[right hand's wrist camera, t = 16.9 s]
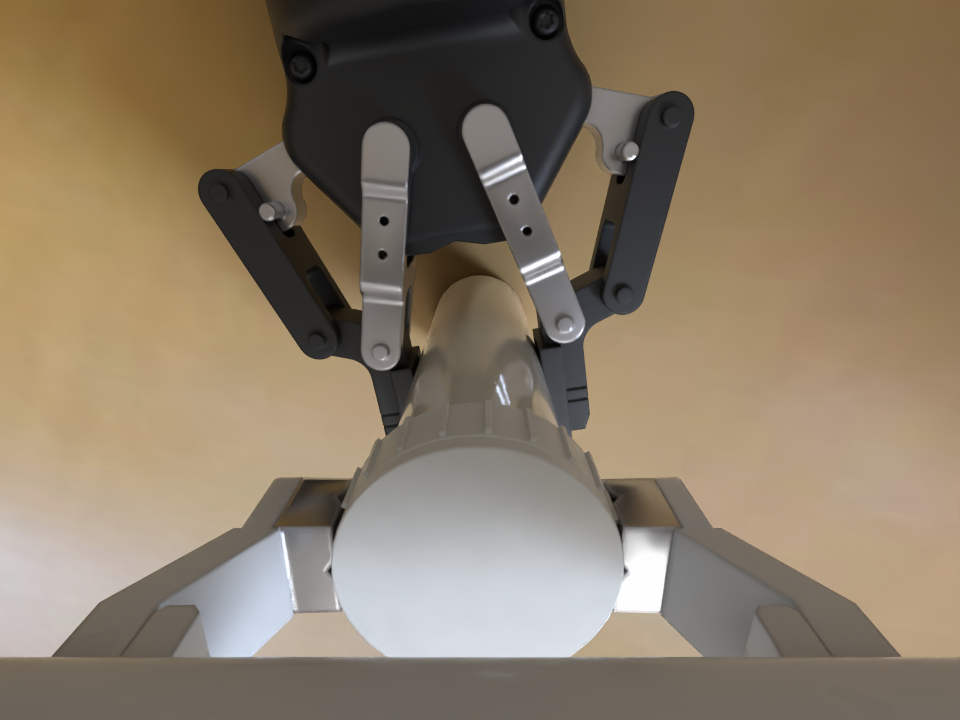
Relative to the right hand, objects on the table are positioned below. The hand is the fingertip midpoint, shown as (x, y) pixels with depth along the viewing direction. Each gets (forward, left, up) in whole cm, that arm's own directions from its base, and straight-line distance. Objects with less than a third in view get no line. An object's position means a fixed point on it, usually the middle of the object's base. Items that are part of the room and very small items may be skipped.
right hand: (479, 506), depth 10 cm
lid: (0, 0, +2) cm, 2 cm away
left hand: (-3, +1, -7) cm, 8 cm away
